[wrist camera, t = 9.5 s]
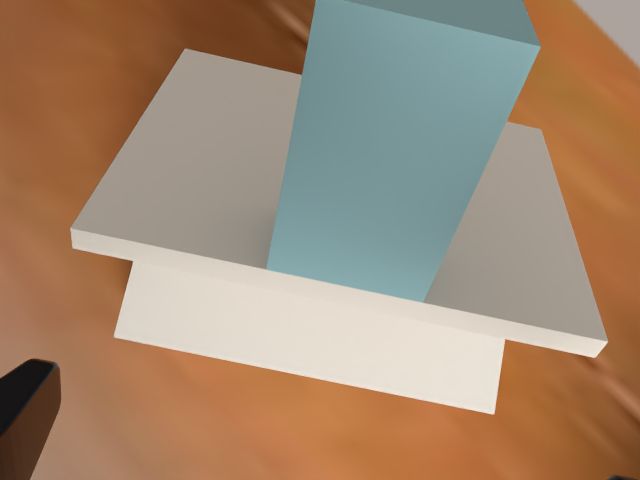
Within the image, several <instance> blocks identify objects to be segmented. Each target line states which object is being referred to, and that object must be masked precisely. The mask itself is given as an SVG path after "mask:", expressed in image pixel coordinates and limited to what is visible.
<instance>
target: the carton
mask: <svg viewBox="0 0 640 480" xmlns="http://www.w3.org/2000/svg"><path fill="white" fill-rule="evenodd" d="M114 337H115V338H120V339H125V340H130V341H135V342H139V343H144V344H149V345H154V346H159V347H164V348H169V349H174V350H179V351H184V352H189V353H194V354H198V355H203V356H208V357H213V358H218V359H223V360H228V361H233V362H238V363H243V364H248V365H253V366H257V367H262V368H267V369H272V370H277V371H282V372H287V373H292V374H297V375H302V376H307V377H312V378H317V379H321V380H326V381H331V382H336V383H341V384H346V385H351V386H356V387H361V388H366V389H371V390H376V391H380V392H385V393H390V394H395V395H400V396H405V397H410V398H415V399H420V400H425V401H430V402H435V403H439V404H444V405H449V406H454V407H459V408H464V409H469V410H474V411H479V412H484V413H489V414H494V412H495V405H496V398H497V391H498V384H499V377H500V370H501V363H502V357H503V350H504V343H505V339H503V338H498V337H493V336H488V335H484V334H479V333H474V332H469V331H465V330H460V329H455V328H450V327H446V326H441V325H436V324H431V323H426V322H422V321H417V320H412V319H407V318H403V317H398V316H393V315H388V314H383V313H379V312H374V311H369V310H364V309H360V308H355V307H350V306H345V305H341V304H336V303H331V302H326V301H321V300H317V299H312V298H307V297H302V296H298V295H293V294H288V293H283V292H279V291H274V290H269V289H264V288H259V287H255V286H250V285H245V284H240V283H236V282H231V281H226V280H221V279H216V278H212V277H207V276H202V275H197V274H193V273H188V272H183V271H178V270H174V269H169V268H164V267H159V266H154V265H150V264H145V263H140V262H135V261H133V265H132V268H131V272H130V276H129V280H128V284H127V288H126V291H125V295H124V299H123V303H122V307H121V310H120V314H119V318H118V322H117V326H116V330H115V333H114Z"/></svg>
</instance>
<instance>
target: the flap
mask: <svg viewBox="0 0 640 480" xmlns="http://www.w3.org/2000/svg"><path fill="white" fill-rule="evenodd" d="M540 48H541V46H540V43H539V41H538V38H537V35H536V33H535V30H534V28H533V25H532V23H531V20H530V18H529V15H528V12H527V10H526V7H525V5H524V2H523V0H316V3H315V8H314V14H313V19H312V24H311V30H310V35H309V41H308V46H307V51H306V57H305V62H304V68H303V73H302V75H300V74H295V73H291V72H287V71H282V70H278V69H273V68H269V67H265V66H260V65H256V64H251V63H247V62H243V61H238V60H234V59H229V58H225V57H220V56H216V55H212V54H207V53H203V52H198V51H194V50H190V49H184V51H183V52H182V54H181V56H180V57H179V59H178V60H177V62H176V63H175V65H174V67H173V68H172V70H171V71H170V73H169V74H168V76H167V78H166V79H165V81H164V82H163V84H162V85H161V87H160V89H159V90H158V92H157V93H156V95H155V96H154V98H153V99H152V101H151V103H150V104H149V106H148V107H147V109H146V110H145V112H144V114H143V115H142V117H141V118H140V120H139V121H138V123H137V125H136V126H135V128H134V129H133V131H132V132H131V134H130V136H129V137H128V139H127V140H126V142H125V143H124V145H123V146H122V148H121V150H120V151H119V153H118V154H117V156H116V157H115V159H114V161H113V162H112V164H111V165H110V167H109V168H108V170H107V172H106V173H105V175H104V176H103V178H102V179H101V181H100V183H99V184H98V186H97V187H96V189H95V190H94V192H93V193H92V195H91V197H90V198H89V200H88V201H87V203H86V204H85V206H84V208H83V209H82V211H81V212H80V214H79V215H78V217H77V219H76V220H75V222H74V223H73V225H72V226H71V228H70V230H71V238H72V247H73V249H78V250H83V251H88V252H92V253H97V254H102V255H107V256H112V257H116V258H121V259H126V260H131V261H135V262H140V263H145V264H150V265H154V266H159V267H164V268H169V269H174V270H178V271H183V272H188V273H193V274H197V275H202V276H207V277H212V278H216V279H221V280H226V281H231V282H236V283H240V284H245V285H250V286H255V287H259V288H264V289H269V290H274V291H279V292H283V293H288V294H293V295H298V296H302V297H307V298H312V299H317V300H321V301H326V302H331V303H336V304H341V305H345V306H350V307H355V308H360V309H364V310H369V311H374V312H379V313H383V314H388V315H393V316H398V317H403V318H407V319H412V320H417V321H422V322H426V323H431V324H436V325H441V326H446V327H450V328H455V329H460V330H465V331H469V332H474V333H479V334H484V335H488V336H493V337H498V338H503V339H508V340H512V341H517V342H522V343H527V344H531V345H536V346H541V347H546V348H550V349H555V350H560V351H565V352H570V353H574V354H579V355H584V356H589V357H593V358H595V357H596V356H597V355H598V354H599V353H600V351H601V350H602V349H603V348H604V346H605V345H606V344H607V343H608V339H607V336H606V333H605V330H604V327H603V324H602V320H601V317H600V314H599V311H598V308H597V305H596V301H595V298H594V295H593V292H592V289H591V286H590V282H589V279H588V276H587V273H586V270H585V267H584V263H583V260H582V257H581V254H580V251H579V248H578V244H577V241H576V238H575V235H574V232H573V229H572V225H571V222H570V219H569V216H568V213H567V210H566V206H565V203H564V200H563V197H562V194H561V191H560V187H559V184H558V181H557V178H556V175H555V172H554V168H553V165H552V162H551V159H550V156H549V153H548V149H547V146H546V143H545V140H544V137H543V134H542V130H541V129H537V128H533V127H529V126H524V125H520V124H515V123H511V122H507V119H508V117H509V115H510V113H511V111H512V108H513V106H514V104H515V102H516V100H517V98H518V95H519V93H520V91H521V89H522V87H523V84H524V82H525V80H526V78H527V76H528V74H529V71H530V69H531V67H532V65H533V63H534V61H535V58H536V56H537V54H538V52H539V50H540Z"/></svg>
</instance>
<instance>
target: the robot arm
mask: <svg viewBox="0 0 640 480" xmlns="http://www.w3.org/2000/svg"><path fill="white" fill-rule="evenodd" d="M60 403H61V383H60V368H59V366H58V364H57V363H55V362H51V361H46V360H41V359H30V360H28V361H26V362H24V363H23V364H21V365H20V366H18V367H17V368H15V369H14V370H12V371H11V372H9V373H8V374H6V375H5V376H3V377H2V378H0V480H30V478H31V476H32V473H33V471H34V469H35V466H36V464H37V461H38V459H39V457H40V454H41V452H42V450H43V447H44V445H45V442H46V440H47V438H48V435H49V433H50V430H51V428H52V426H53V423H54V421H55V418H56V416H57V414H58V411H59V408H60ZM607 480H637V479H634V478H630V477H625V476H620V475H613V476H610V477H609V478H608V479H607Z"/></svg>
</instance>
